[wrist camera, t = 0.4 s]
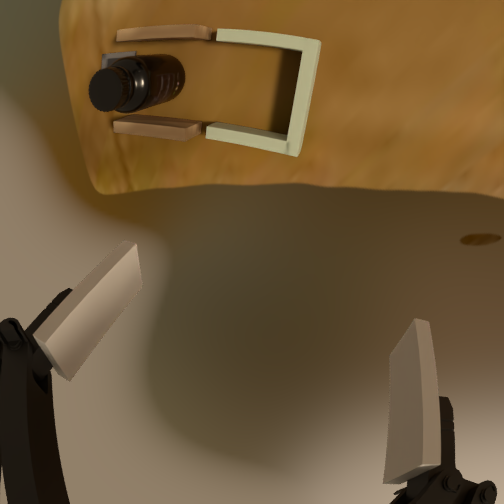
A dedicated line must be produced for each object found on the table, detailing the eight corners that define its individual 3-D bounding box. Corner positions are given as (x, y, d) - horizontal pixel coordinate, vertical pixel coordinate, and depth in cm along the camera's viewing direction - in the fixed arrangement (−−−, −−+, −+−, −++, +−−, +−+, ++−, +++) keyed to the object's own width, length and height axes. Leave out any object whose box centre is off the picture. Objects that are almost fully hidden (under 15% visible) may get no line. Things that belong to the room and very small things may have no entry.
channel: (138, 31, 30) (117, 30, 27) (212, 28, 28) (195, 24, 25) (133, 124, 38) (113, 132, 35) (201, 133, 37) (184, 141, 33)
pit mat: (105, 54, 33) (102, 54, 32) (136, 51, 32) (133, 51, 31) (103, 103, 38) (100, 104, 37) (133, 104, 37) (131, 105, 36)
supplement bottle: (137, 92, 36) (76, 109, 26) (153, 48, 31) (89, 51, 22) (177, 109, 36) (119, 130, 26) (195, 63, 32) (137, 67, 22)
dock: (227, 31, 28) (217, 28, 26) (321, 43, 27) (319, 40, 24) (215, 132, 36) (205, 138, 34) (300, 150, 35) (297, 157, 32)
